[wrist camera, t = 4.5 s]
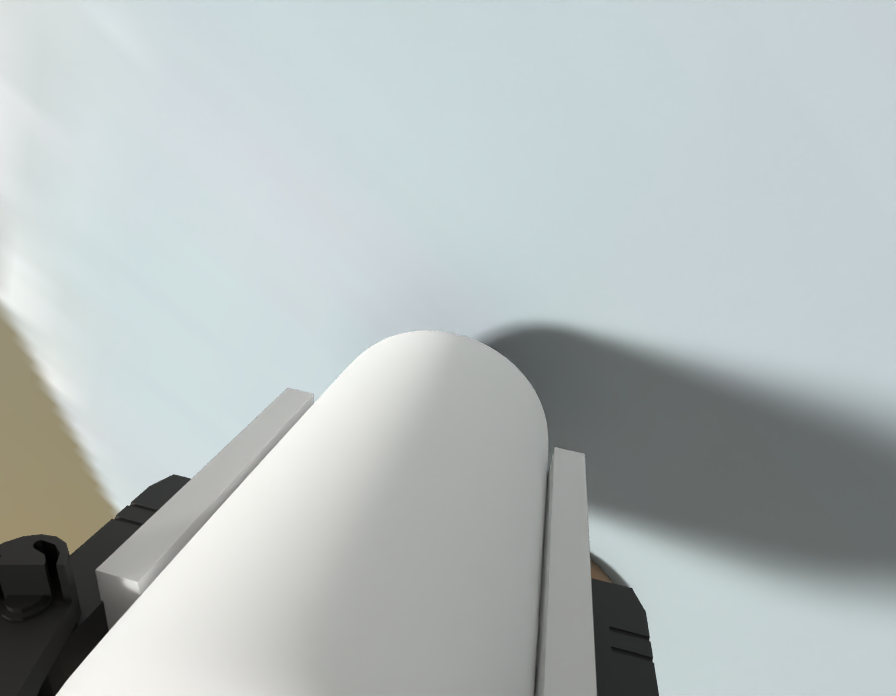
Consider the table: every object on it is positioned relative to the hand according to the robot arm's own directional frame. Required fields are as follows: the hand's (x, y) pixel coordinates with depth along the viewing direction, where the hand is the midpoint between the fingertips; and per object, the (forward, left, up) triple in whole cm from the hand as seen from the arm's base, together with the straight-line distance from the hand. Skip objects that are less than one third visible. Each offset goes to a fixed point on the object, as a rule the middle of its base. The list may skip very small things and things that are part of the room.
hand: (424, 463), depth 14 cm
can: (0, 0, -2) cm, 2 cm away
